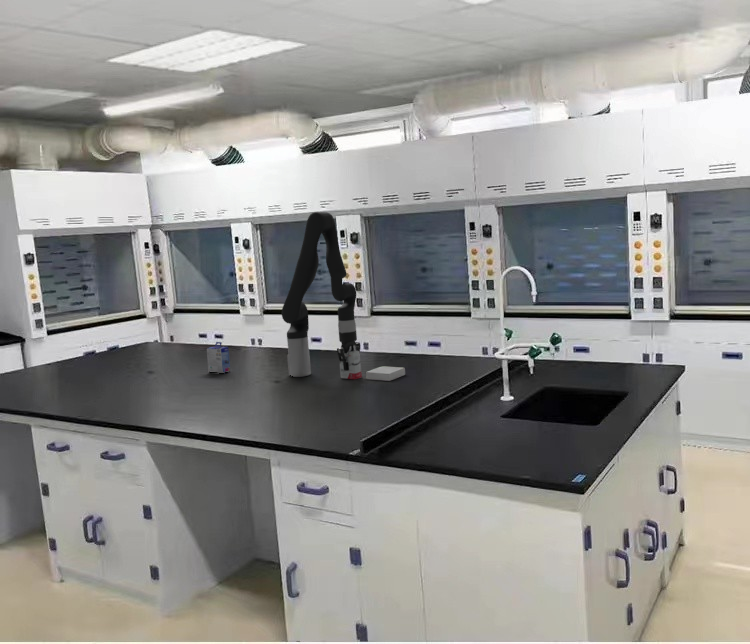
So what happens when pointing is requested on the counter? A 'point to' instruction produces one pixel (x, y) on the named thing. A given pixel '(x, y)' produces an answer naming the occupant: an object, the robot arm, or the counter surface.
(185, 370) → the counter surface
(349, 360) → the ink box
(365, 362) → the counter surface
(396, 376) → the stand
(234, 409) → the counter surface
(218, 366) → the ink cartridge box
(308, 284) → the robot arm
